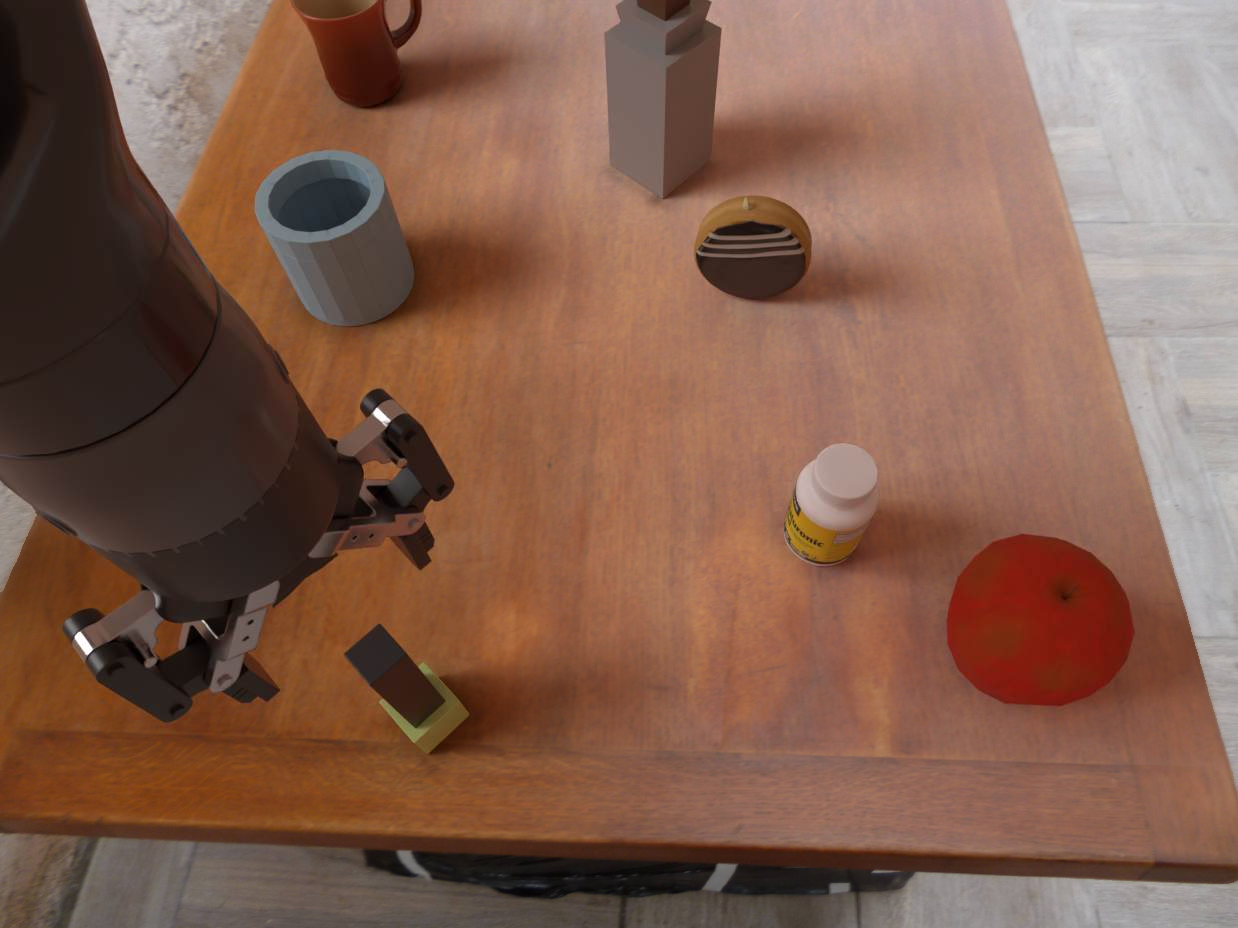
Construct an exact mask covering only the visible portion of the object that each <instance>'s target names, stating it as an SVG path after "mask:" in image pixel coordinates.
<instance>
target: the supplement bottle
mask: <svg viewBox="0 0 1238 928" xmlns="http://www.w3.org/2000/svg"><path fill="white" fill-rule="evenodd" d="M878 481H879V467H878V464H877V462H876V460H875V458H874V457H873V455H872V454H870V453H869V452H868V451H867V450H865V449H864V448H863V447H861V446H859V445H856V444H852V443H848V442H847V443H846V442H842V443H834V444H830V445H829V446H827V447H824V449H822V450H821V452H819V454H818V455H817V457H816V458H815V459H814V460H812V461H810V462H809V463H808V464H806V466H804V467H803V469H802V470H801V472H800V473H799V476H798V477H797V480H796V483H795V486H794V489H793V492H792V495H791V498H790V501H789V504H788V507H787V510H786V513H785V516H784V517H785V518H784V520H783V528H782V529H783V537H784V540H785V543H786V545H787V547H788V548H789V550H790V551H791V553H793V555H795V556H796V557H797V558H798V559H799V560H801V561H803V562H805V563H807V564H809V565H813V566H816V567H830V566H837V565H838V564H840V563H842V562H844V561H846V560H847V559H848V558H849V557H850V556H851V555H852V554H853V553H854V552H855V550H856V549H857V547H858V545H859V543H860V541H861V539H862V538H863V536H864V534H865V532H866V530H867V528H868V526H869V524H870V523H871V521H872V519H873V517H874V515H875V513H876V511H877V509H878V507H879V503H880V487H879V483H878Z"/></svg>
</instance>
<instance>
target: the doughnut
mask: <svg viewBox="0 0 1238 928" xmlns="http://www.w3.org/2000/svg"><path fill="white" fill-rule="evenodd" d="M812 239H813V238H812V234H811V229H810V227H809V225H808V223H807V221H806V220H805V218H804V217H803V216H802V215H801V214H800V212H799V211H797V210H796V209H795V208H793V207H792V206H791V205H789V204H788V203H786V202H783V201H781V200H779V199H776V198H773V197H769V196H764V195H741V196H736V197H732V198H729V199H727V200H724V201H722V202H721V203H719V204H717V205H716V206H714V207H713V208H712V209H711V210H710V211H708V213H706V215H705V216H704V217H703V219H702V221H701V222H700V224H699V227H698V231H697V235H696V238H695V241H694V246H693V258H694V262H695V265H696V267H697V269H698V271H699V273H700V274H701V276H702V277H703V278H704V279H705V280H706V281H707V282H708V283H709V284H710V285H712V286H713V287H714V288H716V289H718V290H720V291H721V292H723V293H725V294H728V295H731V296H734V297H737V298H742V299H753V300H756V299H757V300H758V299H767V298H768V299H769V298H772V297H777V296H779V295H783V294H784V293H787V292H788V291H790V290H792V289H793V288H795V287H797V285H798V284H800V283H801V282H802V280H803V279H804V278H805V276H806V275H807V273H808V272H809V269H810V266H811V261H812V247H813V246H812V245H813V240H812Z"/></svg>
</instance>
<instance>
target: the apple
mask: <svg viewBox="0 0 1238 928" xmlns="http://www.w3.org/2000/svg"><path fill="white" fill-rule="evenodd" d="M1135 633H1136V631H1135V625H1134V620H1133V615H1132V610H1131V606H1130V601H1129V598H1128V595H1127V593H1126V591H1125V589H1124V588H1123V586H1122V585H1121V583H1120V582H1119V581H1118V579H1117V577H1116V576H1115V574H1114V572H1113V571H1112V570H1111V569H1110V568H1109V567H1108V566H1106V564H1104V563H1103V562H1102V561H1101V560H1100V559H1099V558H1097V556H1096V555H1094V554H1093V553H1092V552H1091V551H1089V550H1087V549H1085V548H1082V547H1081V546H1078V545H1077V544H1074V543H1072V542H1070V541H1068V540H1065V539H1061V538H1058V537H1054V536H1046V535H1037V534H1029V533H1019V534H1015V535H1012V536H1008V537H1005V538H1001V539H997V540H994V541H992V542H991V543H990V544H988V545H987V546H986V547H984V548H983V549H982V550H980V551H979V552H978V553H977V554H976V555H975V556H973V558H972V559H971V560H970V561H969V563H968V564H966V566H965V567H964V569H963V570H962V571H961V572H960V573H959V574H958V575H957V578H956V581H955V584H954V587H953V591H952V593H951V597H950V601H949V605H948V610H947V617H946V635H947V636H946V637H947V638H946V639H947V646H948V649H949V651H950V654H951V656H952V658H953V661H954V663H955V666H956V668H957V670H958V671H959V673H960V674H962V675H963V676H964V678H966V679H967V680H968V681H969V682H970V683H971V684H972V685H973V687H975V689H976V690H977V691H978V692H981V693H983V694H985V695H987V696H989V697H991V698H993V699H995V700H997V701H999V702H1001V703H1002V704H1005V705H1006V704H1009V705H1023V706H1042V707H1044V706H1045V707H1062V706H1066V705H1068V704H1071V703H1074V702H1077V701H1080V700H1082V699H1086V698H1088V697H1091V696H1093V694H1095V693H1097V692H1098V691H1100V690H1101V689H1103V688H1104V687H1105V686H1107V685H1108V684H1110V683H1111V682H1112V680H1113V679H1114V678H1115V677H1116V675H1117V674H1118V673H1119V671H1120V670H1121V669H1122V668H1123V666H1124V665H1125V664H1126V662H1127V661H1128V659H1129V656H1130V652H1131V648H1132V644H1133V642H1134V638H1135Z"/></svg>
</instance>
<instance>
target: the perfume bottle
mask: <svg viewBox="0 0 1238 928" xmlns="http://www.w3.org/2000/svg"><path fill="white" fill-rule="evenodd" d="M712 3H713V2H712V1H711V0H622V1H620V2H618V3H617V4H616V5H615V9H616V13H617V16H618V18H619V22H618V23H617V24H615V25H614V26H612V27H611V28H609V29H607V30H606V31H605V32H604V33H603V34H604V55H605V77H606V78H605V79H606V81H605V82H606V101H607V103H606V105H607V126H608V127H607V128H608V146H609V149H608V150H609V165H610V166H611V167H613V168H614V169H615V170H617V171H619V172H620V173H622V174H624V175H625V176H627V177H628V178H630V179H631V180H633V181H634V182H636V183H638V184H639V185H641V186H642V187H644V188H645V189H647V190H648V191H650V192H651V193H653V194H654V195H656V196H658V197H659V198H660V199H664V198H666V197H667V196H669V195H670V194H671V193H672V192H673V191H675V190H676V189H677V188H678V187H680V186H682V184H684V183H685V182H686V181H687V180H688V179H690V178H691V177H693V176H694V175H695V174H696V173H697V172H699V171H700V170H701V169H703V168H704V167H705V166H706V165H708V164H709V163H710V162H711V158H712V147H713V137H714V124H715V113H716V112H715V111H716V100H717V87H718V76H719V67H720V66H719V65H720V54H721V53H720V52H721V40H722V30H723V29H722V27H720V26H719V25H718V24H715V23H713V22H711V21H709V20H707V17H708V14H709V11H710V8H711V6H712Z"/></svg>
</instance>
